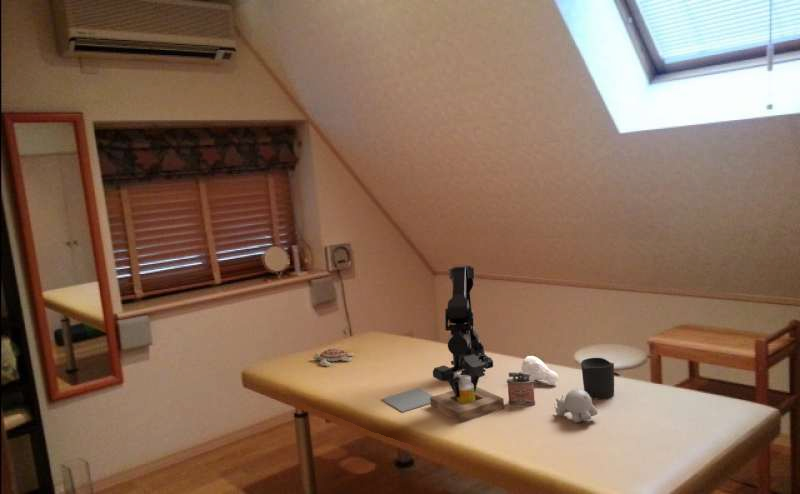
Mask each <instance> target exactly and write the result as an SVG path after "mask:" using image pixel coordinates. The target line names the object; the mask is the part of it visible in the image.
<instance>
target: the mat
mask: <svg viewBox="0 0 800 494" xmlns="http://www.w3.org/2000/svg"><path fill="white" fill-rule="evenodd" d="M433 396H434V395H433V394H432V393H429V392H427V391H426V390H424V389H421V388H420V387H417V388H413V389H410V390H406V391H402V392H400V393H396V394H393V395H390V396H386V397H382V398H381V400H382V401H383V402H384V403H386V404H388V405H389V406H391V407H393V408H394V409H395V410H398V411H399V412H401V413H402V414H403V413H406V412H410V411H412V410H416V409H419V408H421V407H424V406H429V405H431V403H430V397H433Z"/></svg>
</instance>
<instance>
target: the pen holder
mask: <svg viewBox="0 0 800 494" xmlns="http://www.w3.org/2000/svg"><path fill="white" fill-rule="evenodd" d="M580 365H581V374H582V382H583V383H582V384H583V390H584V391H586V392H587V393H588V394H589V396H590V397H591V399H594V398H597V399H596V400H604V399H603V398H607V399H610V398H612V397H613V396H614V395H615V363H614V362H610V361H609V360H607V359H605V358H604V357H589V358H586V359H585V358H584V359H583V360H582V361H581V363H580ZM611 396H612V397H611ZM609 397H610V398H609Z"/></svg>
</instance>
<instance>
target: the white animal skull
mask: <svg viewBox="0 0 800 494" xmlns="http://www.w3.org/2000/svg"><path fill="white" fill-rule="evenodd" d="M521 364H522V366H521V371H522V372H523V373H529V379H533V380H534V381H536V380H538V381H539V380H541V381H542V380H543V381H547V384H548V386H554V385H556V383H557V382H558V381H559V375H558V374H557V373H556V372H555V371H554V370H551V369H549V367H548V366H547V365H546V364H545V363H544V362H543V361H542V359H540V358H538V357H537V356H534V355H528V356H526V357H525V358H524V359H523V360H522V363H521ZM525 378H526V377H525Z"/></svg>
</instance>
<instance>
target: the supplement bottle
mask: <svg viewBox="0 0 800 494" xmlns="http://www.w3.org/2000/svg"><path fill="white" fill-rule="evenodd" d="M457 377H459V378H460V380H459V381H458V384H459V398H458V397H457V402H458V403H460V404H462V405H464V404H467V403H470V402H473V401H475V393H474V384H473V383H472V382H471V376H470V375H460V374H459V375H457Z"/></svg>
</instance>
